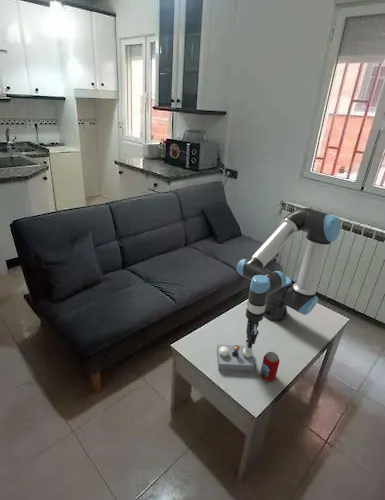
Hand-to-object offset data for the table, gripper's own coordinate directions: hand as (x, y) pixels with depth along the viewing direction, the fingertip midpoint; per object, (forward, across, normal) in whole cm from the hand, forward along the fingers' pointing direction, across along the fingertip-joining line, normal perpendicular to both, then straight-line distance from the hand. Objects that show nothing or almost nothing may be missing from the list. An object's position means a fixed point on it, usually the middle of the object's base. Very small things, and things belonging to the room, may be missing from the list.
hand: (248, 350), depth 142 cm
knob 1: (+5, 0, -11) cm, 12 cm away
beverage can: (+7, +8, +9) cm, 14 cm away
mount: (+7, 0, -5) cm, 9 cm away
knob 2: (+5, 0, 0) cm, 5 cm away
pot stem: (+2, 0, -5) cm, 6 cm away
